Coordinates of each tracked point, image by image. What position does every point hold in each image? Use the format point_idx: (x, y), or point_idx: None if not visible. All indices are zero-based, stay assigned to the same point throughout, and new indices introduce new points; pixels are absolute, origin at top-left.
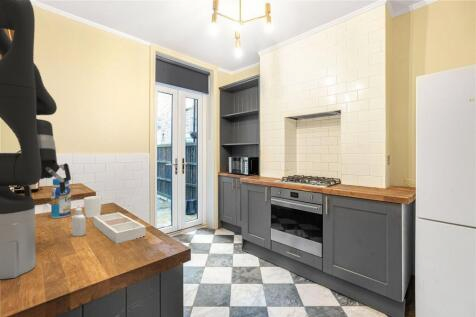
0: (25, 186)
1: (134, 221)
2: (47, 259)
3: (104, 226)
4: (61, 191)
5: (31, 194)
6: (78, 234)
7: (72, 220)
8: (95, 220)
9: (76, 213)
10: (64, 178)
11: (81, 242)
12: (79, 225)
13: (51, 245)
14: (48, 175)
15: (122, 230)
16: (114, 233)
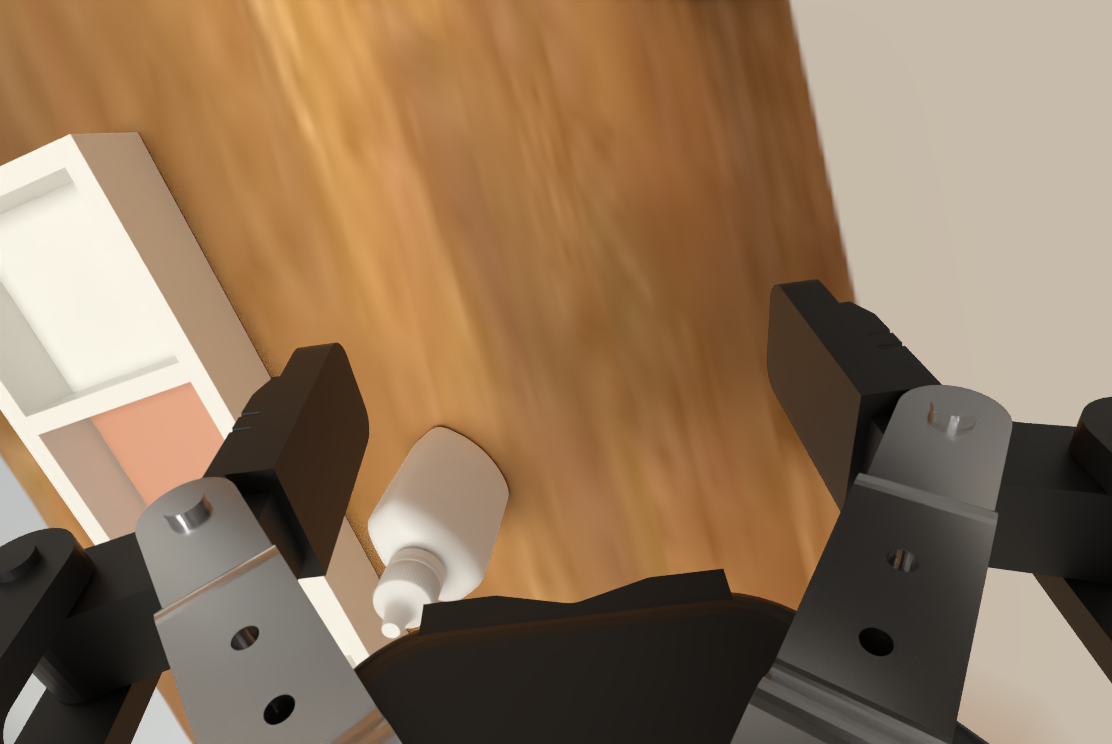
0: (941, 388)
1: (18, 417)
2: (542, 10)
3: None
4: (311, 355)
5: (788, 417)
6: (450, 436)
7: (476, 536)
8: (374, 636)
9: (423, 558)
10: (127, 589)
11: (401, 287)
12: (422, 467)
13: (590, 317)
14: (447, 648)
15: (139, 370)
16: (107, 178)
